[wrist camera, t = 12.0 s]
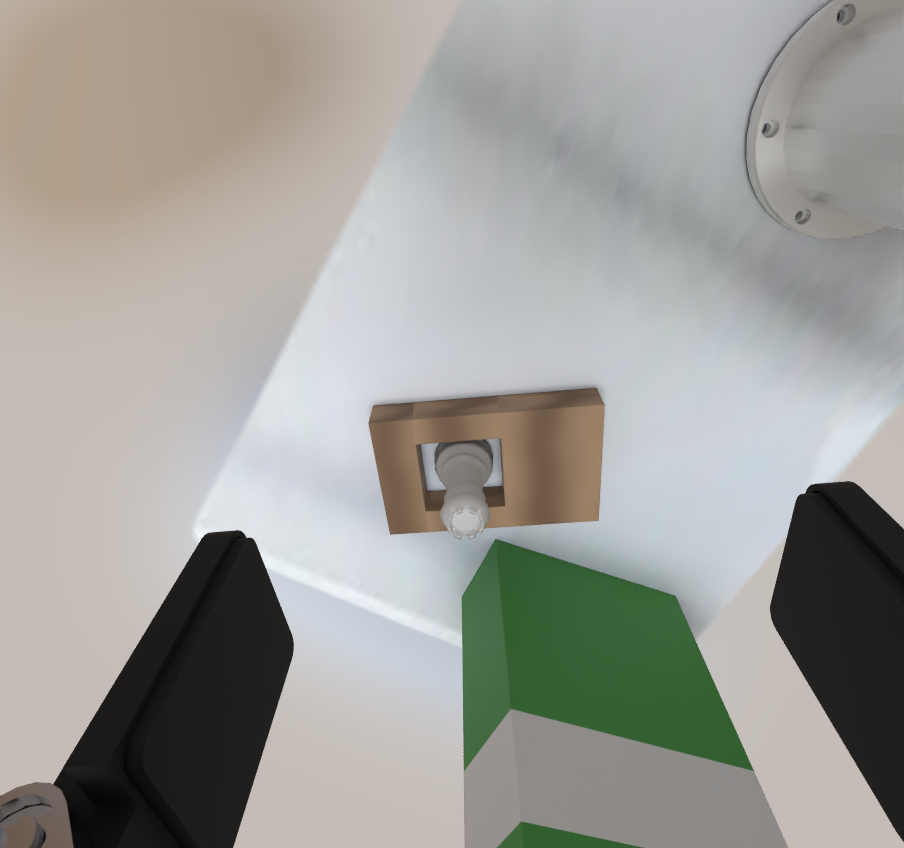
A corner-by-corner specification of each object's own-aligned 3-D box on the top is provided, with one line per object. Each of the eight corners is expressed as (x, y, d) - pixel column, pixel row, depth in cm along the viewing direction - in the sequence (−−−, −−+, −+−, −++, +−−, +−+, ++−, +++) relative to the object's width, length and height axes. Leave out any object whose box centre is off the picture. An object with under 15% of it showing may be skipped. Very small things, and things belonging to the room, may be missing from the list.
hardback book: (675, 595, 49) (835, 953, 28) (631, 646, 53) (746, 998, 32) (495, 539, 46) (527, 894, 25) (461, 597, 49) (465, 951, 29)
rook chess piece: (496, 475, 43) (504, 546, 36) (440, 483, 43) (437, 554, 36) (488, 426, 41) (495, 491, 34) (429, 435, 41) (424, 501, 34)
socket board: (596, 388, 39) (604, 404, 37) (591, 500, 44) (598, 520, 42) (373, 406, 40) (368, 423, 38) (393, 513, 45) (390, 534, 42)
